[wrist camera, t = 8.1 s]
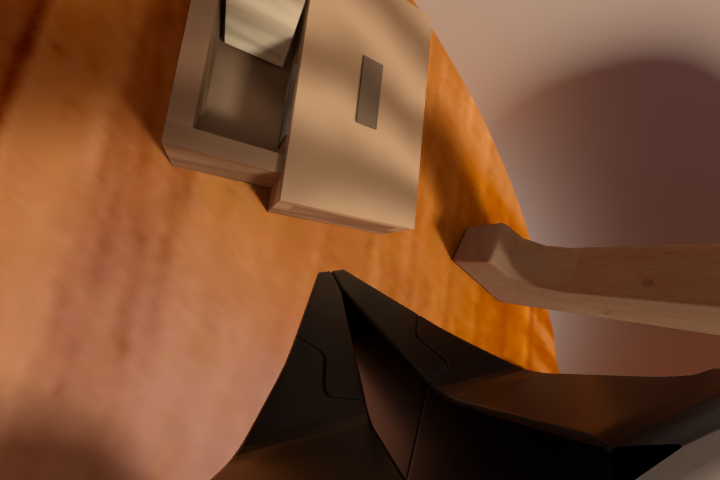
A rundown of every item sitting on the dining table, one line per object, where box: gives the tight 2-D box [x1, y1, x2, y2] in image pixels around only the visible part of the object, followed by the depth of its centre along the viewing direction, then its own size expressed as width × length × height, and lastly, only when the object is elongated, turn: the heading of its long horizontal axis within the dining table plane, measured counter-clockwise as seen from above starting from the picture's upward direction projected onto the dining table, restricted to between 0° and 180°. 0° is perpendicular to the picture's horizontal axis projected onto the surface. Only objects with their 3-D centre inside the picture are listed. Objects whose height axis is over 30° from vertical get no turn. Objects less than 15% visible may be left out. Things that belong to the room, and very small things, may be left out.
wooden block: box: [453, 223, 720, 335], centre depth 23 cm, size 9×4×18 cm, turn 57°
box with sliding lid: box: [161, 0, 432, 234], centre depth 20 cm, size 20×16×5 cm
